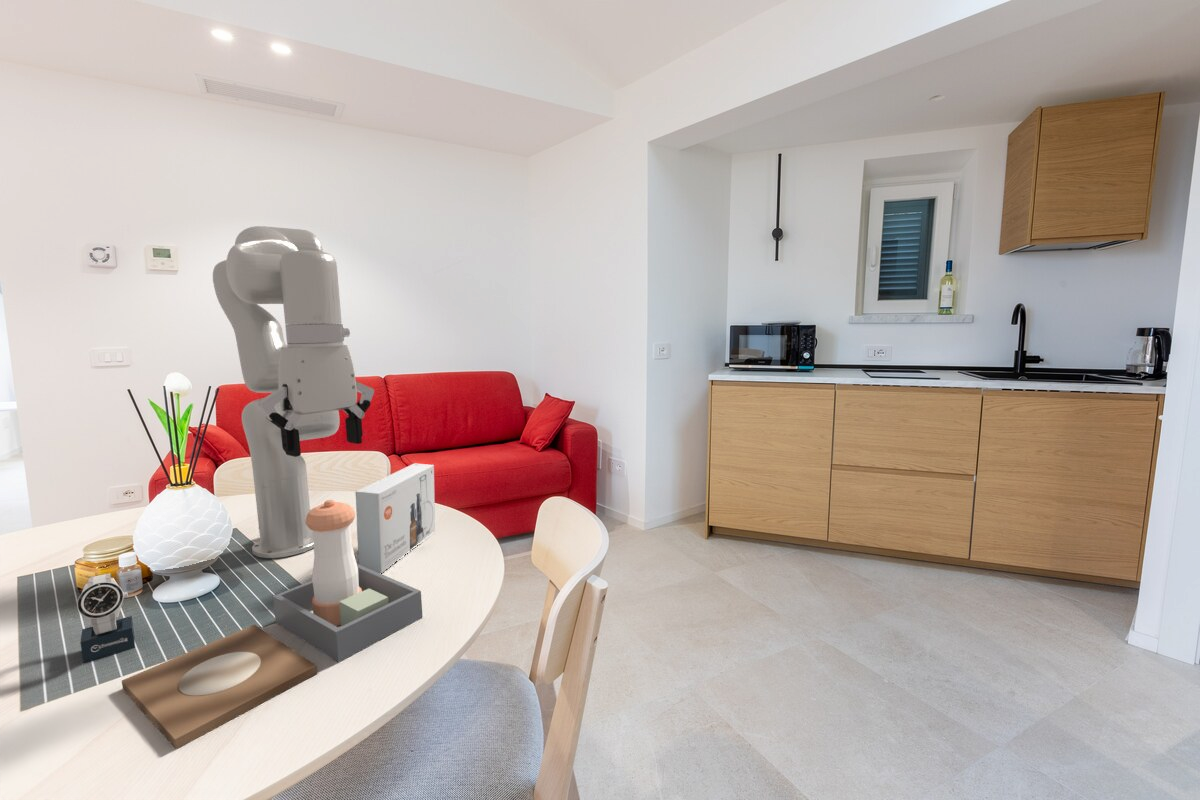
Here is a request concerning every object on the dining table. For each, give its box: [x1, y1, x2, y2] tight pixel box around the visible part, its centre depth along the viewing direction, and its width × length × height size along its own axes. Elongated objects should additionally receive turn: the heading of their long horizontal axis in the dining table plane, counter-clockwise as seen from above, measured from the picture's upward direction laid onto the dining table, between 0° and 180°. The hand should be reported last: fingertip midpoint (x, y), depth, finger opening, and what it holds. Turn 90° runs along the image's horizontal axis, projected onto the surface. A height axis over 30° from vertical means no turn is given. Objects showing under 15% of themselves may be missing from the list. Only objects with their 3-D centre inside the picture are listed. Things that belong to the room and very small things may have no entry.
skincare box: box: [355, 462, 436, 574], centre depth 113 cm, size 21×6×16 cm, turn 168°
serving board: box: [121, 624, 319, 750], centre depth 74 cm, size 18×16×1 cm
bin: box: [272, 563, 423, 663], centre depth 88 cm, size 18×14×4 cm
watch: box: [76, 572, 136, 664], centre depth 81 cm, size 6×8×11 cm
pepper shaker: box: [305, 499, 362, 627], centre depth 89 cm, size 7×7×19 cm
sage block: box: [339, 589, 389, 627], centre depth 85 cm, size 5×5×5 cm
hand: (325, 448), depth 86 cm, fingers open, 9 cm apart
